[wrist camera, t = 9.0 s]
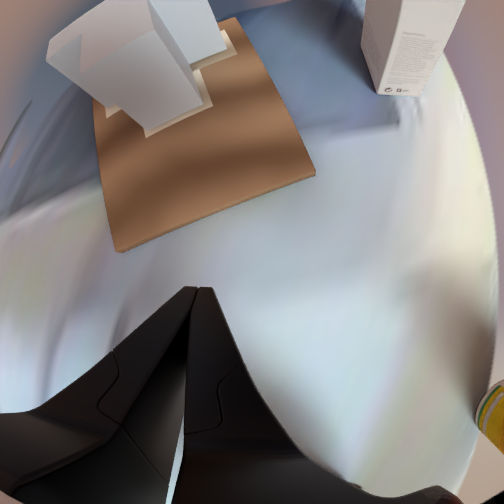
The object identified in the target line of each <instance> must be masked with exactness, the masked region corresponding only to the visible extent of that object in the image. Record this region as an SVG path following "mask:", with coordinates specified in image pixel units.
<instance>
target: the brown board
mask: <svg viewBox="0 0 504 504" xmlns="http://www.w3.org/2000/svg"><path fill="white" fill-rule="evenodd" d="M217 25H218V27H219V30H220V32H221V34H222V37H223V39H224V42H225V45H226V47H227V49H226V50H223V51H221V52H218V53H216V54H213V55H211V56H208V57H206V58H203V59H201V60H199V61H196V62H194V63H192V64H189V65H190V67H191V70H192V73H193V76H194V79H195V81H196V84H197V87H198V90H199V92H200V95H201V98H202V101H203V105H201V106H198V107H196V108H194V109H192V110H190V111H187V112H185V113H183V114H181V115H179V116H177V117H175V118H173V119H171V120H169V121H167V122H165V123H163V124H161V125H159V126H157V127H155V128H153V129H151V130H149V131H147V130H145V129H144V128H143V127H142V126H141V125H140V124H138V123H137V122H136V121H135V120H134V119H132V118H131V117H130V116H129V115H128V114H127V113H125V112H124V111H123V110H122V109H121V108H119V107H118V106H117V105H116V104H114V105H112V106H111V107H109V108H108V109H107V108H106V107H105V106H104V105H102V104H101V103H100V102H98V101H97V100H96V99H95V98H93V97H92V102H93V116H94V128H95V138H96V146H97V155H98V162H99V169H100V176H101V182H102V188H103V194H104V199H105V205H106V210H107V215H108V220H109V225H110V229H111V234H112V238H113V242H114V247H115V251H116V252H119V253H124V252H126V251H128V250H130V249H132V248H135V247H137V246H139V245H141V244H144V243H146V242H148V241H150V240H153V239H155V238H157V237H159V236H162V235H164V234H166V233H169V232H171V231H173V230H176V229H178V228H180V227H183V226H185V225H188V224H190V223H192V222H195V221H197V220H200V219H202V218H204V217H207V216H209V215H212V214H214V213H217V212H219V211H222V210H224V209H227V208H229V207H232V206H234V205H237V204H239V203H242V202H245V201H247V200H250V199H252V198H255V197H258V196H260V195H263V194H266V193H268V192H271V191H273V190H276V189H279V188H282V187H284V186H287V185H290V184H293V183H295V182H298V181H301V180H304V179H306V178H309V177H312V176H315V174H316V170H315V168H314V165H313V163H312V161H311V159H310V157H309V154H308V152H307V150H306V148H305V146H304V143H303V141H302V139H301V137H300V135H299V133H298V131H297V129H296V127H295V124H294V122H293V120H292V118H291V116H290V114H289V112H288V110H287V108H286V106H285V104H284V102H283V100H282V98H281V97H280V95H279V93H278V91H277V89H276V87H275V85H274V83H273V81H272V79H271V78H270V76H269V74H268V72H267V70H266V69H265V67H264V65H263V63H262V61H261V60H260V58H259V56H258V54H257V53H256V51H255V49H254V47H253V46H252V44H251V42H250V41H249V39H248V37H247V36H246V34H245V32H244V31H243V29H242V27H241V26H240V24H239V23H238V21H237V19H236V18H235V17H233V18H230V19H227V20H225V21H222V22H219V23H217Z"/></svg>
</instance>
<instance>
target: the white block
mask: <svg viewBox="0 0 504 504" xmlns="http://www.w3.org/2000/svg"><path fill="white" fill-rule="evenodd" d="M226 49H227V47H226V45H225V42H224V39H223V37H222V34H221V32H220V30H219V27H218V25H217V22H216V20H215V17H214V15H213V13H212V10H211V8H210V6H209V3H208V1H207V0H105V1H104V2H102V3H101V4H99V5H97V6H96V7H94V8H93V9H91V10H90V11H89V12H87V13H85V14H84V15H82V16H81V17H80V18H78V19H77V20H75V21H74V22H73V23H71V24H70V25H69V26H67V27H66V28H65V29H63V30H62V31H61V32H59V33H58V34H57V35H56V36H54V37H53V38H52V39H51V40H50V42H49V47H48V51H47V57H46V62H48V63H49V64H50V65H52V66H53V67H54V68H56V69H57V70H58V71H60V72H61V73H62V74H64V75H65V76H66V77H68V78H69V79H70V80H71V81H73V82H74V83H75V84H77V85H78V86H79V87H80V88H82V89H83V90H84V91H86V92H87V93H88V94H89V95H91V96H92V97H93V98H95V99H96V100H97V101H98V102H100V103H101V104H102V105H104V106H105V107H106V108H107V109H108V108H109V107H111V106H112V105H114V104H116V105H117V106H118V107H119V108H121V109H122V110H123V111H124V112H125V113H127V114H128V115H129V116H130V117H131V118H132V119H134V120H135V121H136V122H137V123H138V124H140V125H141V126H142V127H143V128H144V129H145V130H147V131H149V130H151V129H153V128H155V127H157V126H159V125H161V124H163V123H165V122H167V121H169V120H171V119H173V118H175V117H177V116H179V115H181V114H183V113H185V112H187V111H190V110H192V109H194V108H196V107H198V106H201V105H203V101H202V98H201V95H200V92H199V90H198V87H197V84H196V81H195V79H194V76H193V73H192V70H191V67H190V65H189V64H192V63H194V62H196V61H199V60H201V59H203V58H206V57H208V56H211V55H213V54H216V53H218V52H221V51H223V50H226Z"/></svg>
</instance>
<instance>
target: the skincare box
mask: <svg viewBox="0 0 504 504" xmlns="http://www.w3.org/2000/svg"><path fill="white" fill-rule="evenodd" d="M465 1H466V0H366V7H365V16H364V24H363V31H362V39H361V49H362V51H363V54H364V57H365V59H366V62H367V65H368V68H369V71H370V74H371V77H372V80H373V83H374V87H375V90H376V93H377V94H384V95H398V96H413V97H418V96H419V95H420V94H421V92H422V90H423V89H424V87H425V85H426V83H427V81H428V79H429V77H430V75H431V73H432V71H433V69H434V67H435V65H436V63H437V61H438V60H439V57H440V55H441V53H442V51H443V49H444V47H445V45H446V43H447V41H448V39H449V36H450V35H451V32H452V30H453V28H454V26H455V23H456V21H457V19H458V17H459V15H460V12H461V10H462V8H463V6H464V3H465Z"/></svg>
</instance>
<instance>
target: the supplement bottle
mask: <svg viewBox="0 0 504 504" xmlns="http://www.w3.org/2000/svg"><path fill="white" fill-rule="evenodd" d="M475 421H476V425H477V427H478V429H479V430H480V431H481V432H482V433H483V434H484V435H485V436H486V437H487V438H488V439H489V440H490V441H491V442H492V443H493V444H494V445H495V446H496V447H497V448H498V449H499V450H500V451H501V452H502V453H503V454H504V380H501V381H499V382H498V383H496V384H495V385H494V386H492V387H491V388H490V390H489V391H488V392H487V393H486V395H485V396H484V397H483V399H482V400H481V402H480V404H479V406H478V409H477V412H476V419H475Z"/></svg>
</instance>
